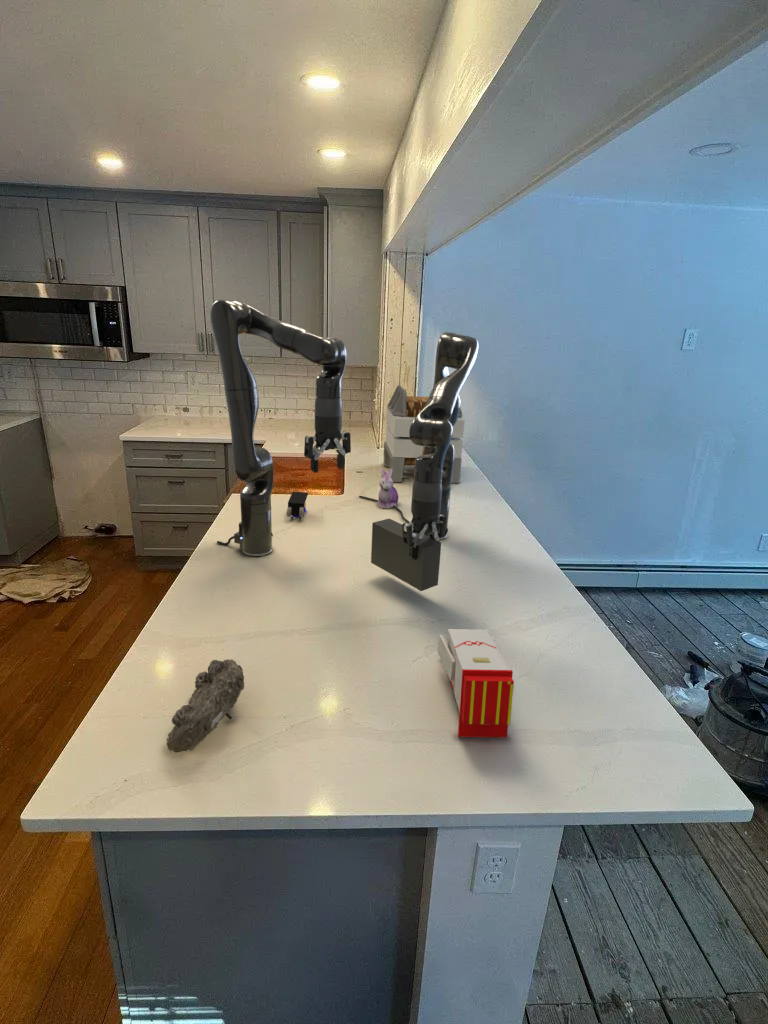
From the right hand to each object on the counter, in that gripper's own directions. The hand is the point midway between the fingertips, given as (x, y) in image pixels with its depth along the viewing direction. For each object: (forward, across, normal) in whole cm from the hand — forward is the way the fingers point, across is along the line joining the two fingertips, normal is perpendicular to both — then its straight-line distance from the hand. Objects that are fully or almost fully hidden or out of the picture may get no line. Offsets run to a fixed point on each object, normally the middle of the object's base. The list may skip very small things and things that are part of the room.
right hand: (422, 555), depth 150 cm
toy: (+13, +18, +35) cm, 42 cm away
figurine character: (+14, -7, -74) cm, 76 cm away
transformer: (+14, -87, -94) cm, 128 cm away
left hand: (-17, +9, -32) cm, 37 cm away
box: (+8, 0, -7) cm, 11 cm away
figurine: (+14, -43, -65) cm, 80 cm away
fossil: (+13, +64, +11) cm, 66 cm away
